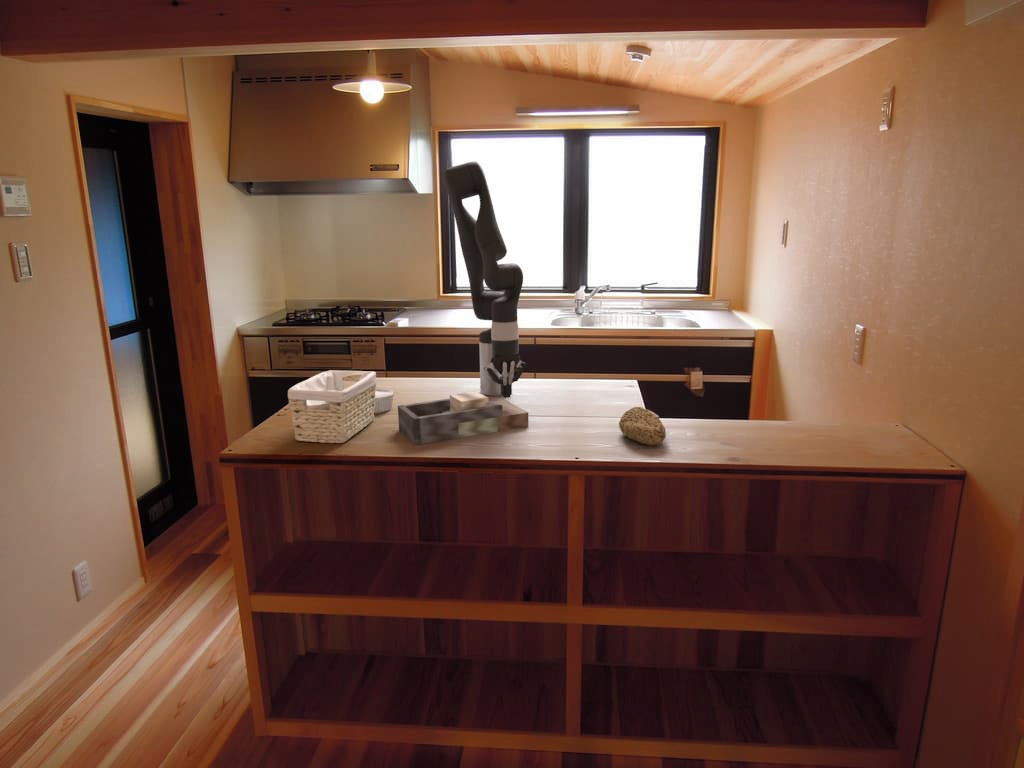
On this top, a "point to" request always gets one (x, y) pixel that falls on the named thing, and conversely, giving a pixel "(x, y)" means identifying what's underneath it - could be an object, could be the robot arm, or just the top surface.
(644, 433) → the sponge
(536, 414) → the top surface
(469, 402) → the block
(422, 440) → the lane
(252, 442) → the top surface
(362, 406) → the storage basket
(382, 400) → the ramekin
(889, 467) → the top surface
